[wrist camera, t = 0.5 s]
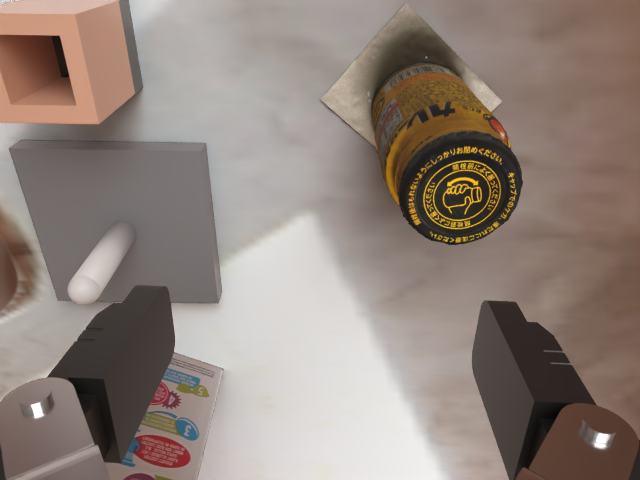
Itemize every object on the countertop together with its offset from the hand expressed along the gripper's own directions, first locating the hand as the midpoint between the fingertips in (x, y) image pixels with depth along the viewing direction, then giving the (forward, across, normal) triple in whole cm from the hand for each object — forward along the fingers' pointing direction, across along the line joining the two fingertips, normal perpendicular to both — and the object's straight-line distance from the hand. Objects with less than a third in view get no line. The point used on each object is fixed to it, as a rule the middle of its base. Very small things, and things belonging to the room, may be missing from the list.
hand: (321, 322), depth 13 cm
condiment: (+22, -5, -2) cm, 22 cm away
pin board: (+21, +14, +7) cm, 27 cm away
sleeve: (+20, +14, -5) cm, 25 cm away
